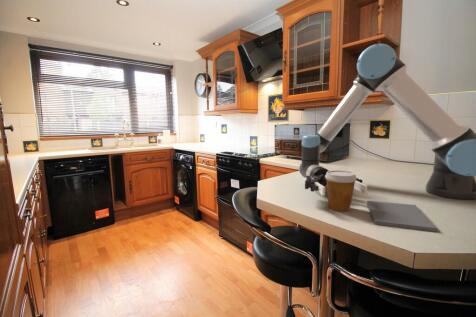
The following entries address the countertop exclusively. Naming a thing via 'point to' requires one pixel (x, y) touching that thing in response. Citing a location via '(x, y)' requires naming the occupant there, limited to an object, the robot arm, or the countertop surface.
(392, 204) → the drip mat
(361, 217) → the countertop surface
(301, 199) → the countertop surface
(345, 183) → the disposable coffee cup
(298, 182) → the countertop surface
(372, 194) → the countertop surface
